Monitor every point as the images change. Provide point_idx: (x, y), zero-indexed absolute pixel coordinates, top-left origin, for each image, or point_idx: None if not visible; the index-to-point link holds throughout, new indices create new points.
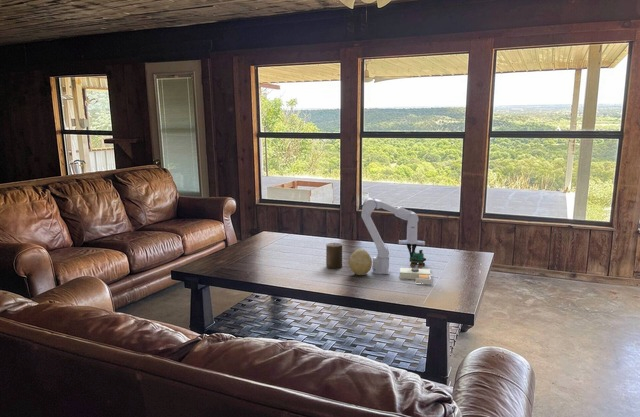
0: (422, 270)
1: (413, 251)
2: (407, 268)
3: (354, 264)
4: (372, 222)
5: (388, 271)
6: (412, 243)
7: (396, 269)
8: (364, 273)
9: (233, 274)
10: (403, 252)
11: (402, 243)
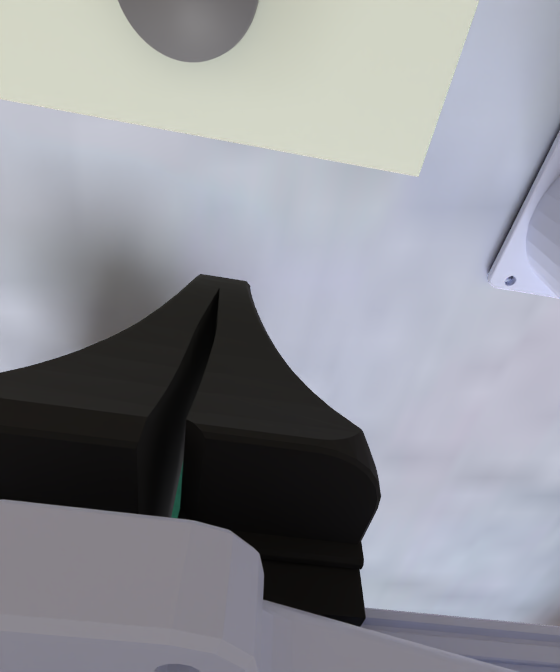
0: (46, 2)
1: (140, 328)
2: (309, 133)
3: None
4: None
5: (553, 187)
6: (3, 562)
7: (393, 306)
8: None
9: None
10: None
11: (541, 652)
